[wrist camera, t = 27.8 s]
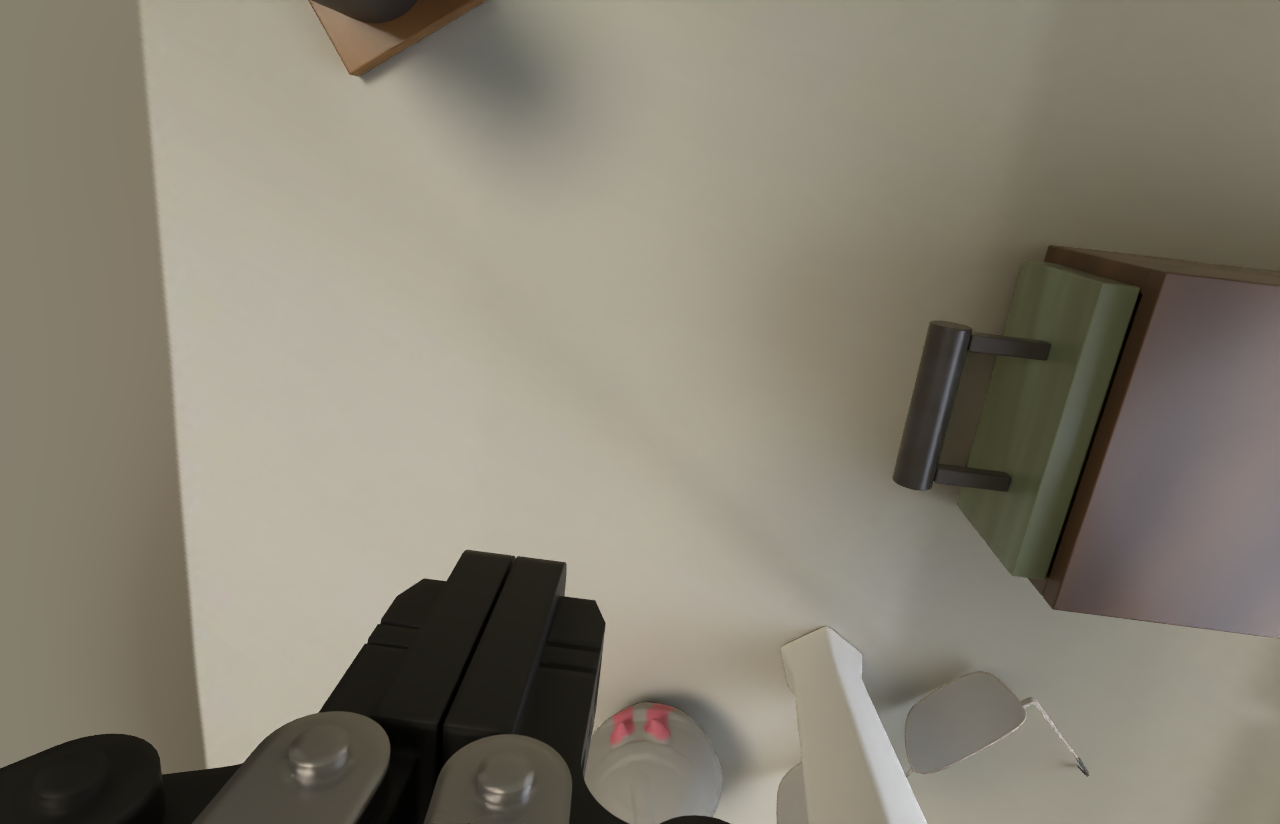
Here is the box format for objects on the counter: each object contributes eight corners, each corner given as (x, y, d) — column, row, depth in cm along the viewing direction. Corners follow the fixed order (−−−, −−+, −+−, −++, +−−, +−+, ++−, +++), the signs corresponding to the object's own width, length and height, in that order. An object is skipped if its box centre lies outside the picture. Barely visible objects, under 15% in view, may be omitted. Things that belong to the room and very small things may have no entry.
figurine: (708, 661, 36) (713, 793, 29) (727, 775, 38) (736, 926, 31) (576, 674, 37) (547, 807, 29) (602, 785, 39) (581, 936, 31)
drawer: (859, 492, 32) (895, 561, 26) (915, 246, 29) (968, 266, 23) (1252, 542, 31) (1370, 622, 26) (1355, 298, 28) (1517, 331, 23)
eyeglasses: (1003, 650, 35) (1045, 715, 31) (1080, 753, 37) (1127, 824, 34) (757, 783, 38) (769, 856, 35) (842, 869, 41) (861, 946, 37)
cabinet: (972, 511, 33) (1052, 609, 26) (1047, 244, 29) (1166, 272, 22) (1285, 550, 32) (1455, 661, 25) (1402, 285, 29) (1641, 327, 22)
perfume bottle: (800, 717, 37) (870, 1065, 23) (757, 651, 36) (802, 973, 22) (885, 679, 36) (1015, 1019, 22) (844, 610, 35) (951, 920, 21)
